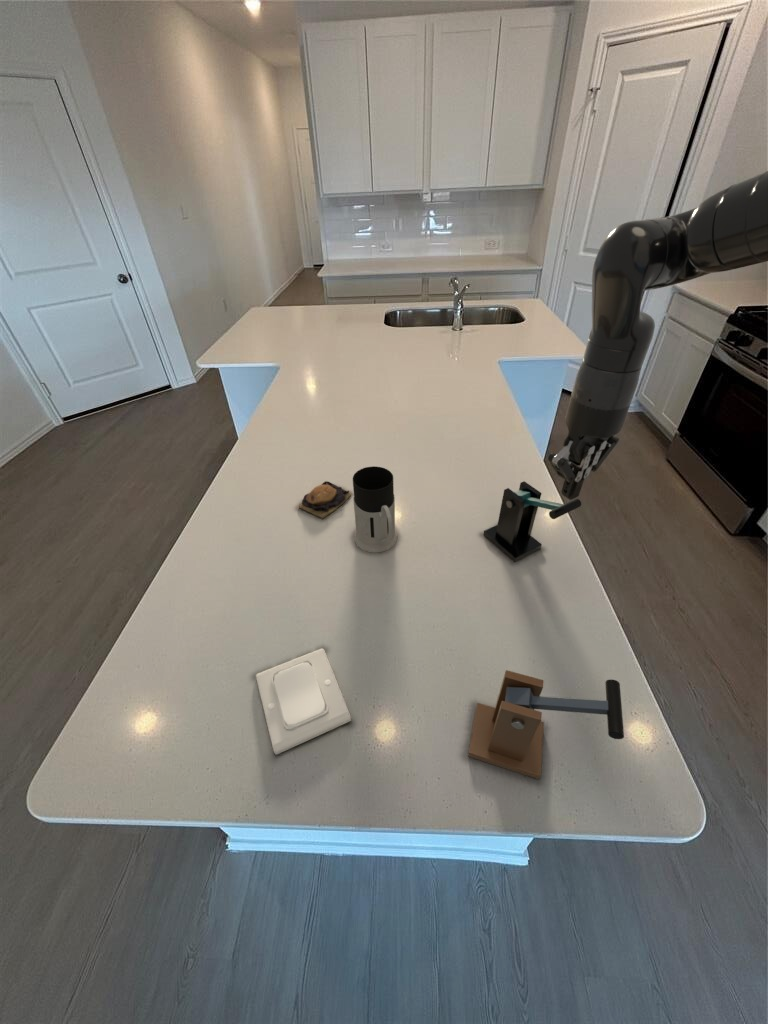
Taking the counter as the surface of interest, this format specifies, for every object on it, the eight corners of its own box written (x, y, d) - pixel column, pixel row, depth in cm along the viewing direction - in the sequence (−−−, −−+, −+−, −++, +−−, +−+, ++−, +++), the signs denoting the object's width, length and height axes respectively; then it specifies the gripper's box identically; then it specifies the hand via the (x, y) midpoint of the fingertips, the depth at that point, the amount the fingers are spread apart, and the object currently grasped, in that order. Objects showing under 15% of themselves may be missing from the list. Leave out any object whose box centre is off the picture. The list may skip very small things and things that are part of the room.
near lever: (621, 689, 49) (618, 677, 48) (625, 742, 45) (622, 730, 44) (513, 683, 55) (508, 672, 54) (508, 730, 51) (502, 719, 50)
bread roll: (324, 521, 94) (322, 508, 92) (295, 507, 98) (293, 494, 96) (354, 495, 101) (353, 482, 99) (326, 483, 105) (325, 470, 102)
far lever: (582, 510, 73) (580, 496, 72) (556, 522, 71) (555, 509, 70) (528, 498, 84) (526, 486, 83) (504, 509, 81) (502, 497, 81)
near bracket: (541, 726, 60) (564, 677, 52) (538, 779, 55) (563, 735, 47) (476, 706, 63) (487, 657, 55) (467, 756, 58) (479, 710, 49)
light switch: (320, 636, 68) (349, 707, 59) (324, 652, 71) (352, 723, 61) (251, 663, 65) (269, 742, 56) (257, 679, 68) (276, 757, 58)
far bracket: (540, 548, 86) (555, 497, 78) (514, 562, 84) (526, 511, 76) (508, 523, 92) (519, 473, 84) (483, 535, 90) (491, 485, 82)
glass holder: (389, 519, 94) (387, 460, 85) (413, 565, 84) (414, 504, 74) (349, 528, 92) (343, 469, 83) (369, 576, 82) (365, 516, 72)
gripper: (591, 419, 54) (558, 523, 66) (657, 393, 59) (616, 494, 70) (545, 396, 59) (522, 497, 70) (610, 374, 64) (579, 471, 75)
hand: (569, 495), depth 70 cm, fingers closed
